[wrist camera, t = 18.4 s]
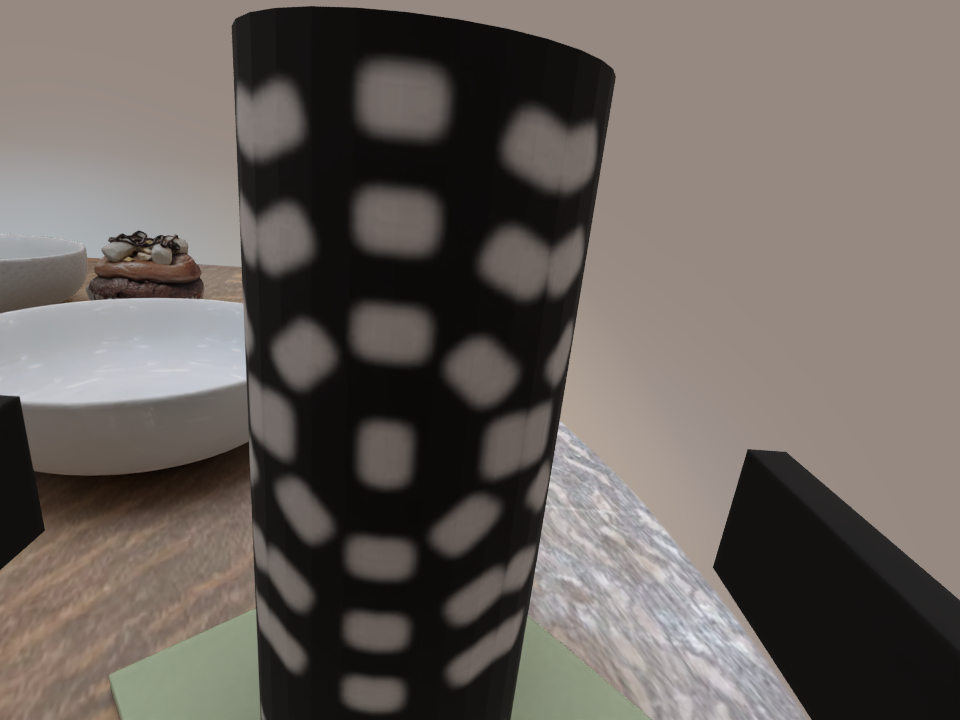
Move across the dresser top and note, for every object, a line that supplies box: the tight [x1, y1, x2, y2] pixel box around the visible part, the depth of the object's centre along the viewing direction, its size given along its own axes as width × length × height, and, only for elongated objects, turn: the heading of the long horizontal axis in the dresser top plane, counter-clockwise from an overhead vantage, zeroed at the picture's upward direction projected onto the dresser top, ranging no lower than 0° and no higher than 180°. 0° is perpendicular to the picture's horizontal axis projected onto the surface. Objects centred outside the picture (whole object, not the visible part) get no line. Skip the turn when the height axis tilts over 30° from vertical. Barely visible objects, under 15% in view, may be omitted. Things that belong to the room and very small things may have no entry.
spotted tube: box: [232, 6, 616, 720], centre depth 16 cm, size 8×8×20 cm
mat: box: [109, 608, 652, 720], centre depth 19 cm, size 14×14×1 cm
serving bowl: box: [0, 298, 249, 476], centre depth 35 cm, size 21×21×7 cm
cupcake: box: [86, 231, 204, 301], centre depth 52 cm, size 10×10×10 cm
